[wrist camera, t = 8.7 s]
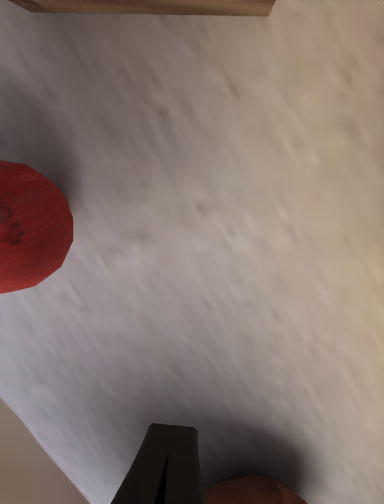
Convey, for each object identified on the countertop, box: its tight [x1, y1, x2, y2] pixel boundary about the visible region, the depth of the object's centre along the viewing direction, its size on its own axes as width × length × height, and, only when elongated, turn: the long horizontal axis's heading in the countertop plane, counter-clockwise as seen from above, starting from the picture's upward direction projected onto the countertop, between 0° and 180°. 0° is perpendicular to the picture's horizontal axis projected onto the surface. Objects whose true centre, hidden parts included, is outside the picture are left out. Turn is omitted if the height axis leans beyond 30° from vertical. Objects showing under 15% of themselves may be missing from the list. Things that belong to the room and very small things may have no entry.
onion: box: [0, 160, 73, 293], centre depth 15 cm, size 6×6×8 cm
